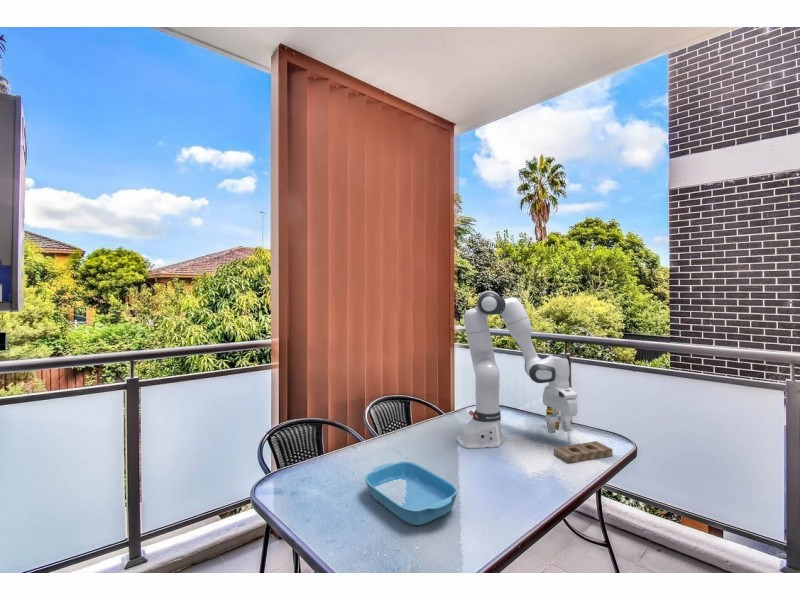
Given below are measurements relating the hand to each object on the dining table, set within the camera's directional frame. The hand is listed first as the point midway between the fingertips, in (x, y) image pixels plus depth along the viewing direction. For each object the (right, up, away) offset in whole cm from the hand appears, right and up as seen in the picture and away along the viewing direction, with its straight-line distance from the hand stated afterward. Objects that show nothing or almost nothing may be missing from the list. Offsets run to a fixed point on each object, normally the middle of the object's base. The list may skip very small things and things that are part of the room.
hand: (558, 419), depth 176 cm
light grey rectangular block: (0, -5, 0) cm, 5 cm away
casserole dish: (-70, -15, -44) cm, 84 cm away
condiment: (+5, -11, +21) cm, 24 cm away
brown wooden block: (+5, -11, -14) cm, 18 cm away
